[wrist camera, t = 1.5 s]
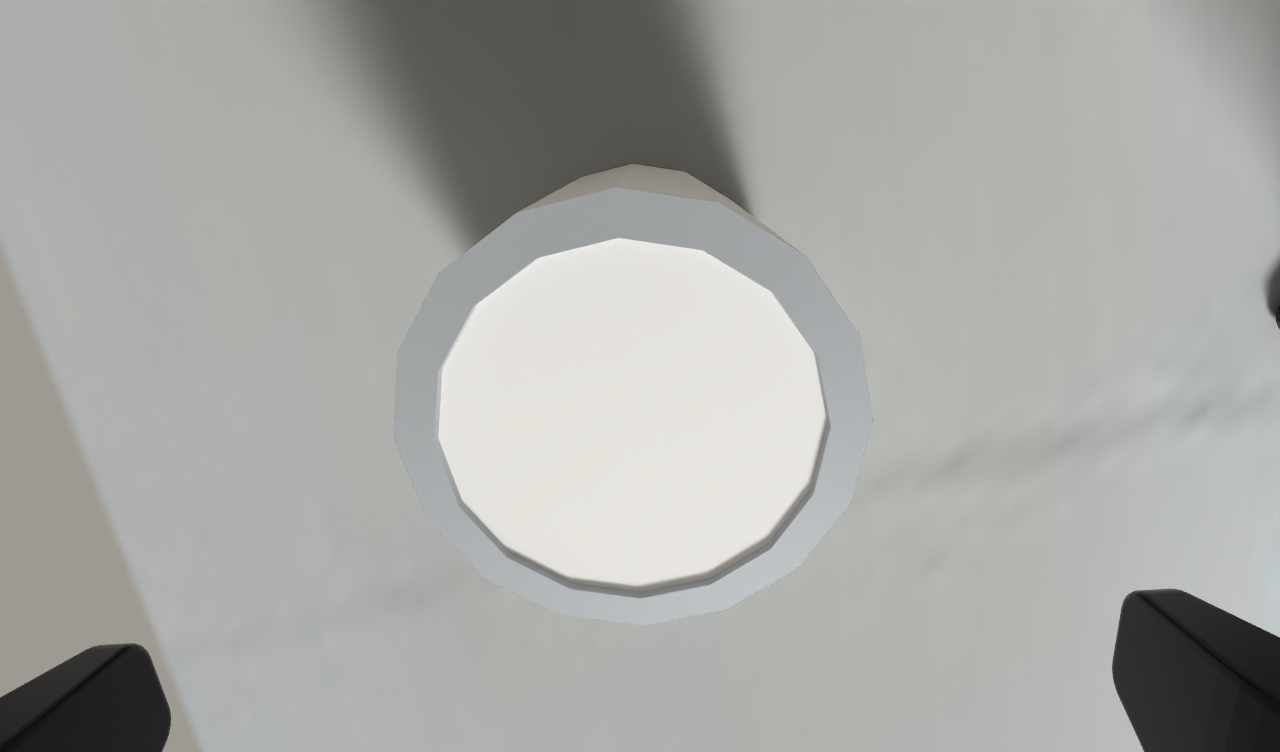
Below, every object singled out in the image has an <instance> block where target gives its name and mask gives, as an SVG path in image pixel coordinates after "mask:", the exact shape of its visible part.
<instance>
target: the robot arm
mask: <svg viewBox="0 0 1280 752" xmlns="http://www.w3.org/2000/svg"><path fill="white" fill-rule="evenodd" d="M1276 322H1277V325H1278V327H1279V328H1280V307H1279V309H1278V311H1277V314H1276ZM1112 672H1113V679H1114V684H1115V687H1116V691H1117V693H1118V696H1119V698H1120V700H1121V702H1122V704H1123V706H1124V709H1125V711H1126V713H1127V715H1128V717H1129V720H1130V722H1131V724H1132V726H1133V728H1134V730H1135V733H1136V735H1137V737H1138V739H1139V741H1140V743H1141V746H1142V748H1143V750H1144V752H1280V637H1277V636H1275V635H1273V634H1271V633H1269V632H1267V631H1265V630H1263V629H1261V628H1259V627H1257V626H1255V625H1253V624H1251V623H1249V622H1246V621H1244V620H1242V619H1240V618H1238V617H1236V616H1234V615H1232V614H1230V613H1228V612H1226V611H1224V610H1222V609H1220V608H1218V607H1215V606H1213V605H1211V604H1209V603H1207V602H1205V601H1203V600H1201V599H1199V598H1197V597H1195V596H1193V595H1191V594H1189V593H1187V592H1184V591H1182V590H1177V589H1157V590H1139V591H1133V592H1132V593H1130V594H1128V595H1127V596H1126V598H1125V599H1124V601H1123V605H1122V608H1121V614H1120V620H1119V626H1118V632H1117V638H1116V644H1115V650H1114V656H1113V663H1112ZM170 725H171V714H170V708H169V705H168V702H167V700H166V697H165V694H164V692H163V689H162V686H161V684H160V681H159V678H158V676H157V673H156V670H155V668H154V665H153V662H152V660H151V657H150V655H149V653H148V651H147V650H146V649H144V648H143V647H142V646H141V645H138V644H133V643H131V644H110V645H98V646H94V647H91V648H89V649H87V650H85V651H83V652H81V653H80V654H78V655H76V656H74V657H73V658H71V659H69V660H67V661H65V662H63V663H62V664H60V665H58V666H56V667H54V668H53V669H51V670H49V671H47V672H45V673H44V674H42V675H40V676H38V677H36V678H35V679H33V680H31V681H29V682H28V683H26V684H24V685H22V686H20V687H18V688H17V689H15V690H13V691H11V692H9V693H8V694H6V695H4V696H2V697H0V752H162V751H163V748H164V746H165V744H166V741H167V738H168V735H169V731H170Z"/></svg>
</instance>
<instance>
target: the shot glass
mask: <svg viewBox="0 0 1280 752" xmlns="http://www.w3.org/2000/svg"><path fill="white" fill-rule="evenodd" d="M872 424H873V416H872V410H871V404H870V398H869V391H868V385H867V379H866V373H865V367H864V361H863V355H862V348H861V342H860V336H859V333H858V332H857V330H856V329H855V327H854V326H853V324H852V323H851V321H850V320H849V318H848V317H847V316H846V314H845V313H844V311H843V310H842V308H841V307H840V305H839V304H838V302H837V301H836V299H835V298H834V296H833V295H832V294H831V292H830V291H829V289H828V288H827V286H826V285H825V283H824V282H823V280H822V279H821V277H820V276H819V275H818V273H817V272H816V270H815V269H814V267H813V266H812V264H811V263H810V261H809V260H808V258H807V257H806V256H805V255H804V254H802V253H801V252H800V251H798V250H797V249H796V248H794V247H793V246H792V245H790V244H789V243H788V242H786V241H785V240H784V239H782V238H781V237H780V236H778V235H777V234H776V233H774V232H773V231H772V230H770V229H769V228H768V227H766V226H765V225H764V224H762V223H761V222H760V221H758V220H757V219H756V218H754V217H753V216H752V215H750V214H749V213H748V212H746V211H745V210H744V209H742V208H741V207H740V206H738V205H737V204H736V203H734V202H733V201H732V200H730V199H729V198H727V197H725V196H724V195H722V194H721V193H719V192H717V191H716V190H714V189H713V188H711V187H709V186H708V185H706V184H704V183H703V182H701V181H700V180H698V179H696V178H695V177H693V176H691V175H690V174H688V173H687V172H685V171H678V170H671V169H665V168H658V167H652V166H645V165H639V164H629V165H626V166H622V167H618V168H614V169H610V170H606V171H602V172H598V173H594V174H591V175H587V176H583V177H580V178H579V179H577V180H575V181H573V182H571V183H570V184H568V185H566V186H564V187H562V188H561V189H559V190H557V191H555V192H553V193H551V194H550V195H548V196H546V197H544V198H542V199H541V200H539V201H537V202H535V203H533V204H531V205H530V206H528V207H526V208H524V209H522V210H521V211H519V212H517V213H515V214H514V215H513V216H512V217H510V218H509V219H508V220H506V221H505V222H504V223H503V224H501V225H500V226H499V227H497V228H496V229H495V230H494V231H492V232H491V233H490V234H488V235H487V236H486V237H485V238H483V239H482V240H481V241H479V242H478V243H477V244H476V245H474V246H473V247H472V248H470V249H469V250H468V251H467V252H465V253H464V254H463V255H461V256H460V257H459V258H458V259H456V260H455V261H454V262H452V263H451V264H450V265H449V266H447V267H446V268H445V269H443V270H442V271H441V272H440V273H439V274H438V276H437V278H436V280H435V282H434V283H433V285H432V287H431V289H430V291H429V293H428V295H427V297H426V299H425V301H424V303H423V305H422V307H421V309H420V311H419V312H418V314H417V316H416V318H415V320H414V322H413V324H412V326H411V328H410V330H409V332H408V334H407V336H406V338H405V340H404V341H403V343H402V345H401V347H400V349H399V351H398V353H397V372H396V399H395V425H394V441H395V443H396V446H397V448H398V451H399V453H400V456H401V458H402V461H403V463H404V466H405V468H406V471H407V473H408V476H409V478H410V481H411V483H412V485H413V488H414V490H415V493H416V495H417V498H418V500H419V503H420V505H421V508H422V510H423V513H424V515H425V517H426V519H427V520H428V521H429V522H430V523H431V524H432V525H433V526H434V527H435V528H436V529H437V530H438V531H439V532H440V533H441V534H442V535H443V536H444V537H445V538H446V539H447V540H448V541H449V542H450V543H451V544H452V545H453V547H454V548H455V549H456V550H457V551H458V552H459V553H460V554H461V555H462V556H463V557H464V558H465V559H466V560H467V561H468V562H469V563H470V564H471V565H472V566H473V567H474V568H475V569H476V570H477V571H478V572H479V573H480V574H481V576H482V577H483V578H485V579H487V580H489V581H491V582H493V583H496V584H498V585H500V586H502V587H504V588H506V589H508V590H510V591H512V592H514V593H516V594H518V595H520V596H522V597H524V598H526V599H528V600H530V601H532V602H534V603H536V604H538V605H540V606H542V607H545V608H547V609H549V610H551V611H553V612H555V613H557V614H559V615H565V616H573V617H581V618H588V619H596V620H604V621H611V622H619V623H627V624H634V625H642V626H644V625H649V624H654V623H659V622H665V621H670V620H675V619H680V618H685V617H690V616H695V615H701V614H706V613H711V612H716V611H721V610H726V609H728V608H730V607H731V606H733V605H735V604H736V603H738V602H740V601H742V600H743V599H745V598H747V597H748V596H750V595H752V594H754V593H755V592H757V591H759V590H760V589H762V588H764V587H766V586H767V585H769V584H771V583H772V582H774V581H776V580H778V579H779V578H781V577H783V576H784V575H786V574H788V573H790V572H791V571H793V570H795V569H797V568H798V567H799V566H800V565H801V564H802V562H803V561H804V560H805V559H806V557H807V556H808V555H809V554H810V552H811V551H812V550H813V549H814V547H815V546H816V545H817V544H818V542H819V541H820V540H821V539H822V537H823V536H824V535H825V534H826V532H827V531H828V530H829V529H830V527H831V526H832V525H833V524H834V522H835V521H836V520H837V519H838V517H839V516H840V515H841V514H842V513H843V511H844V510H845V509H846V508H847V506H848V505H849V504H850V503H851V499H852V496H853V492H854V489H855V485H856V481H857V478H858V474H859V471H860V467H861V463H862V460H863V456H864V453H865V449H866V446H867V442H868V438H869V435H870V431H871V428H872Z"/></svg>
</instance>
